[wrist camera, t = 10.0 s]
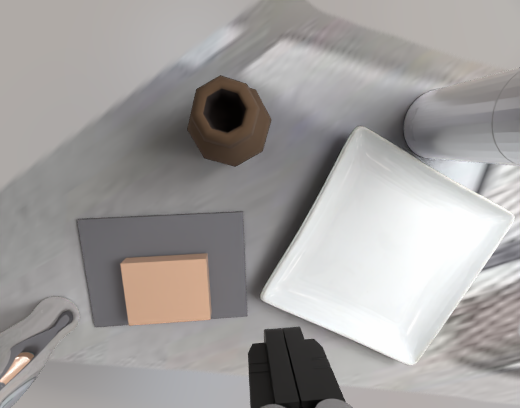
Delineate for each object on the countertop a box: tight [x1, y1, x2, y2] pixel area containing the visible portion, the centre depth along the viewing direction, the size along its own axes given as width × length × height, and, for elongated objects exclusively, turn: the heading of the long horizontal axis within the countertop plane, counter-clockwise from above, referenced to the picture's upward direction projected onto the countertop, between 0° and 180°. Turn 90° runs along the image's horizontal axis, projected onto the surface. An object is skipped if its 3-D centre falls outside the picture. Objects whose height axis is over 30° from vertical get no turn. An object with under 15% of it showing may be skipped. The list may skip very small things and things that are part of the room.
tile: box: [120, 253, 212, 326], centre depth 40 cm, size 2×9×11 cm
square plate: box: [260, 126, 515, 366], centre depth 42 cm, size 27×27×4 cm
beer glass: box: [0, 296, 80, 408], centre depth 34 cm, size 7×7×15 cm
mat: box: [77, 211, 247, 327], centre depth 41 cm, size 22×16×1 cm
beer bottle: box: [187, 75, 271, 167], centre depth 26 cm, size 8×8×24 cm
